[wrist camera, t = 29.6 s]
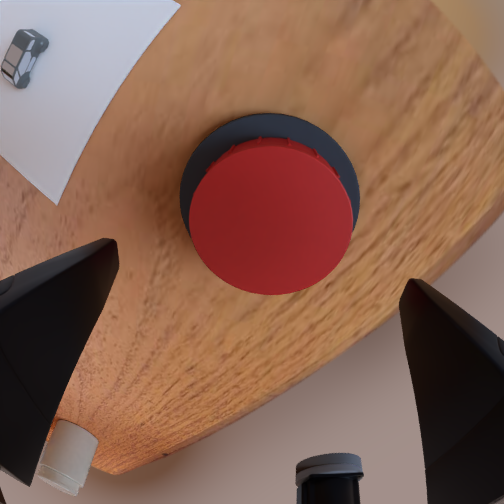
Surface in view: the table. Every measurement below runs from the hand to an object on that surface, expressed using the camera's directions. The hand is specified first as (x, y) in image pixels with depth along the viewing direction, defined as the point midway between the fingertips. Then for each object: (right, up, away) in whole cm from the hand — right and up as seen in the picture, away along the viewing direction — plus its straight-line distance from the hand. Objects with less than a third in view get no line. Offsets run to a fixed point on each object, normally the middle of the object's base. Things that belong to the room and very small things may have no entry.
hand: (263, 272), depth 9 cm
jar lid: (0, +2, +3) cm, 4 cm away
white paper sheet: (-12, +11, +2) cm, 16 cm away
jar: (-22, -22, +21) cm, 38 cm away
